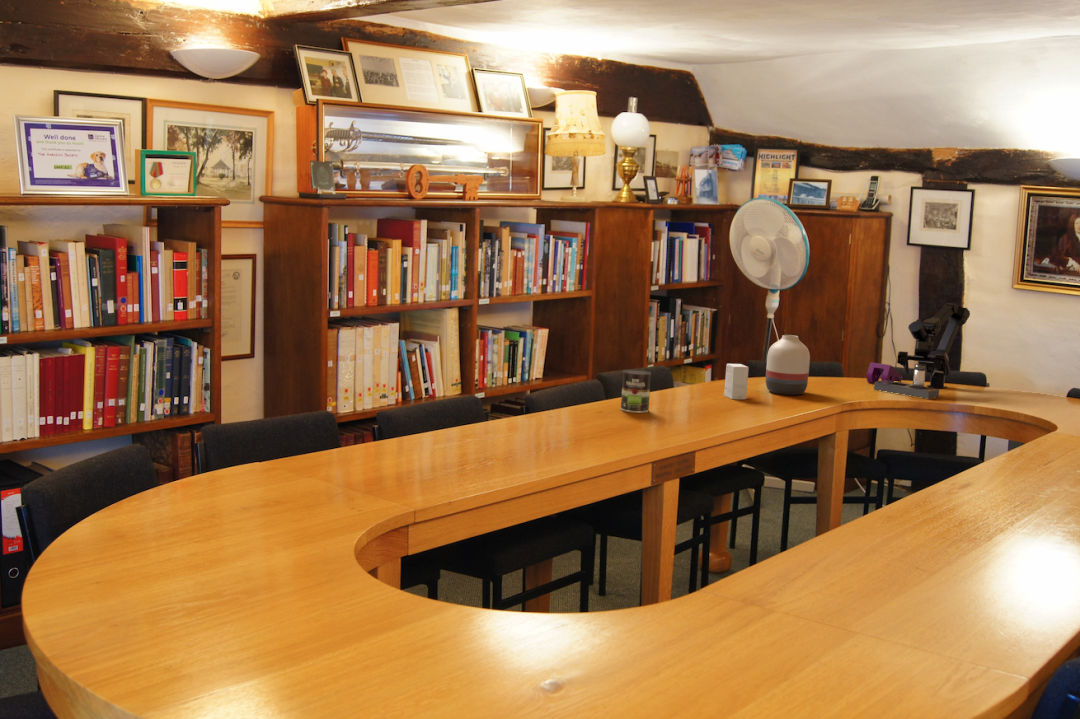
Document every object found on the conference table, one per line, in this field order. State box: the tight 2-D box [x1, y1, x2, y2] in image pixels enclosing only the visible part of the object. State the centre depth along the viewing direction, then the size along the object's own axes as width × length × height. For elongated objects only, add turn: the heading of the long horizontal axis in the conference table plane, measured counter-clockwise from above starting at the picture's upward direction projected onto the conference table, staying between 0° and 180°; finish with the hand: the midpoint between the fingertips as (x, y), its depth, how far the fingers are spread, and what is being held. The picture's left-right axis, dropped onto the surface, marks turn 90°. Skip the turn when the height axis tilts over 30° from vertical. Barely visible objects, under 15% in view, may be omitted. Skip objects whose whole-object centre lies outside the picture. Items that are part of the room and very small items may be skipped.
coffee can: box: [620, 369, 652, 414], centre depth 344 cm, size 10×10×14 cm
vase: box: [765, 334, 811, 396], centre depth 391 cm, size 17×17×24 cm
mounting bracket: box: [866, 362, 903, 384], centre depth 427 cm, size 9×8×18 cm
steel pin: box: [912, 363, 927, 389], centre depth 398 cm, size 4×4×13 cm
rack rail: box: [873, 380, 940, 400], centre depth 403 cm, size 10×24×4 cm, turn 43°
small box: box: [723, 363, 749, 400], centre depth 376 cm, size 8×6×13 cm
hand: (919, 375), depth 399 cm, fingers open, 9 cm apart
